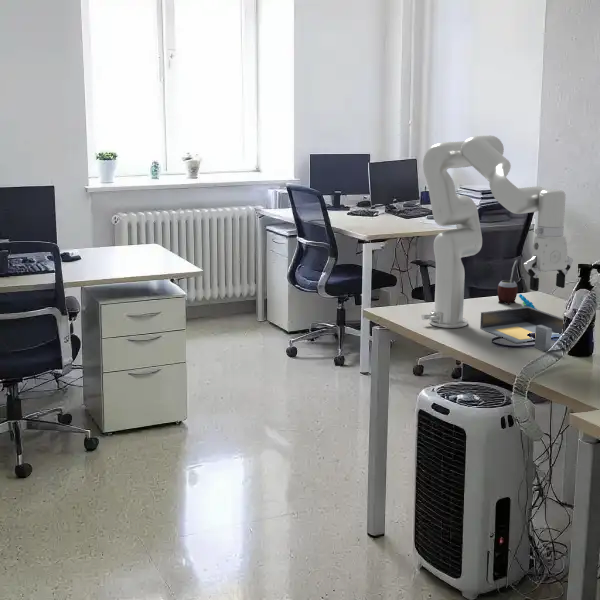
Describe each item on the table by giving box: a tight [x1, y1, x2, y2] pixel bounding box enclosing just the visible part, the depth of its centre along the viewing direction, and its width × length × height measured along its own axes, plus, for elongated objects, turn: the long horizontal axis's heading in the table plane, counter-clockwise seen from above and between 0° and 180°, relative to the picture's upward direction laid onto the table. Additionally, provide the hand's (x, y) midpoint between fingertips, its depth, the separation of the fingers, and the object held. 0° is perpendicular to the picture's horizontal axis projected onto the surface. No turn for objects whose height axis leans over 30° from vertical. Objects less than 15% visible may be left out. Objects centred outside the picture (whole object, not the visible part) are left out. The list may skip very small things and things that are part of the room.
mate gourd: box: [497, 259, 519, 306], centre depth 331 cm, size 8×8×15 cm
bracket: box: [534, 325, 557, 353], centre depth 276 cm, size 7×5×7 cm
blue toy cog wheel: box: [518, 294, 537, 309], centre depth 315 cm, size 11×6×10 cm
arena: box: [479, 306, 565, 344], centre depth 293 cm, size 19×19×6 cm
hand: (547, 288), depth 271 cm, fingers open, 9 cm apart
